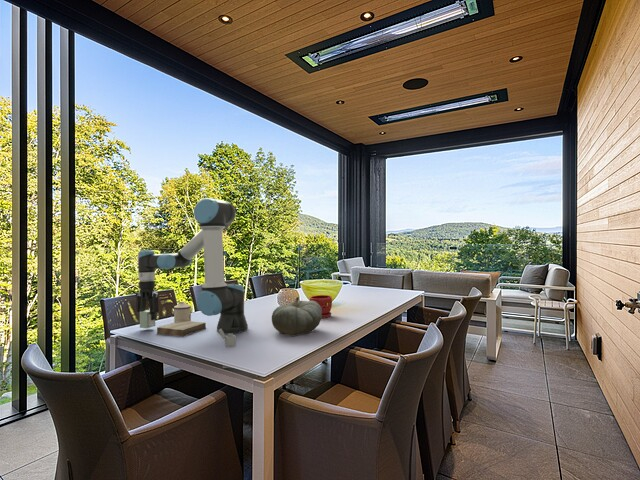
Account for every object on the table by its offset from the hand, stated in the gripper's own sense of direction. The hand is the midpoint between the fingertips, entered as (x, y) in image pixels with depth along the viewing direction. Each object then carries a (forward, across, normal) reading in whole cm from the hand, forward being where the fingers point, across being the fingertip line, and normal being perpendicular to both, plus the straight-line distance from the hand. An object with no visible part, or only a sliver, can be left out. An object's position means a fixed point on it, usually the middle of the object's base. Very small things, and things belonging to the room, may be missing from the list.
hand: (147, 326), depth 176 cm
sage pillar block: (0, 0, 0) cm, 0 cm away
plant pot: (+3, +73, +58) cm, 93 cm away
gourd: (+3, +75, +20) cm, 77 cm away
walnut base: (+2, +19, +4) cm, 19 cm away
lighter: (+3, +57, -11) cm, 58 cm away
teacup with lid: (+2, +4, +20) cm, 20 cm away
